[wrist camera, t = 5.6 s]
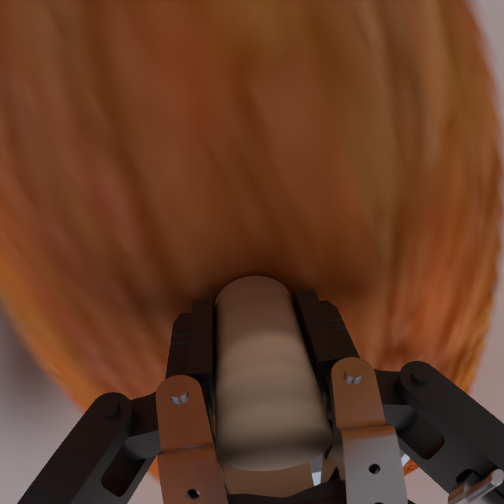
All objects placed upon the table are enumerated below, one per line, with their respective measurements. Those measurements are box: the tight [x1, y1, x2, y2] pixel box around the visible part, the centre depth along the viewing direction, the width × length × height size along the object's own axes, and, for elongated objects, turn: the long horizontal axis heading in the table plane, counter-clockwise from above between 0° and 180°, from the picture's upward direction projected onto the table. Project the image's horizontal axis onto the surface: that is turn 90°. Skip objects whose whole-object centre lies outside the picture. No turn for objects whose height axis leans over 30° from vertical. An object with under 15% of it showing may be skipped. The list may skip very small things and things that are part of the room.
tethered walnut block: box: [214, 276, 333, 497], centre depth 12 cm, size 14×5×6 cm, turn 2°
